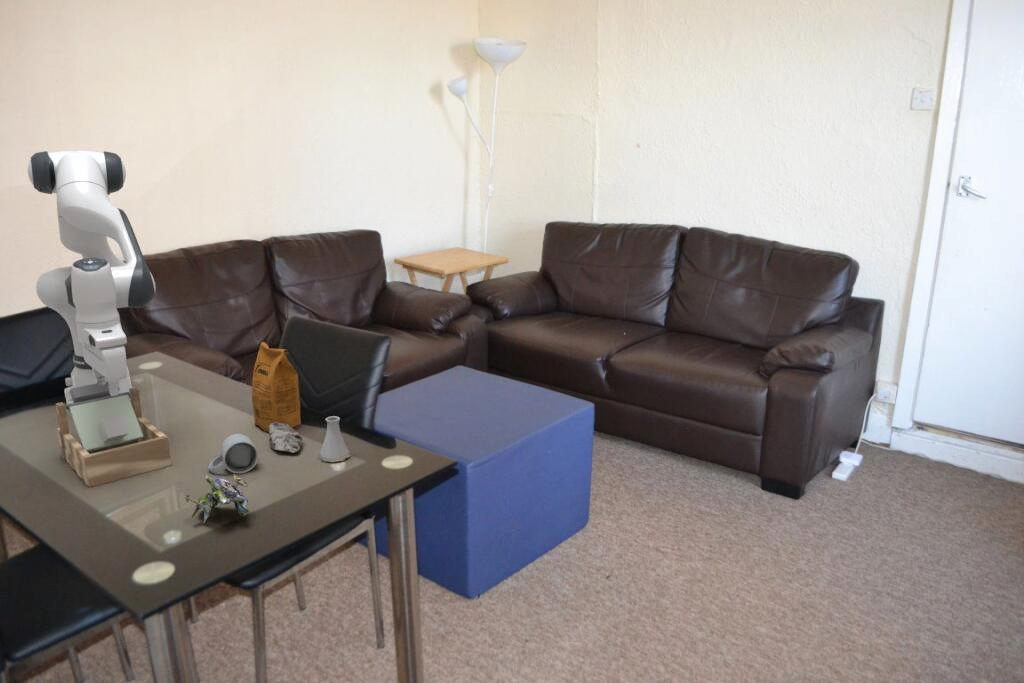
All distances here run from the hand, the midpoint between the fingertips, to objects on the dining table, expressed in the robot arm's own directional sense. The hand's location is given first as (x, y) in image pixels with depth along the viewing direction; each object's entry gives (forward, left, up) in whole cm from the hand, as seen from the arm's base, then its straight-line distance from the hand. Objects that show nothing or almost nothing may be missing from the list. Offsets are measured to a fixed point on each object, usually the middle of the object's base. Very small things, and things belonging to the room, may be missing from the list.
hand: (107, 389), depth 188 cm
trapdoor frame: (-1, 0, -18) cm, 18 cm away
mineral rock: (+17, +35, -18) cm, 43 cm away
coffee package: (+3, +39, -18) cm, 43 cm away
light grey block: (-2, 0, -11) cm, 11 cm away
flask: (+31, +40, -18) cm, 54 cm away
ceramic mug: (+21, +19, -18) cm, 34 cm away
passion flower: (+43, +7, -18) cm, 47 cm away
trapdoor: (-7, 0, -9) cm, 11 cm away
